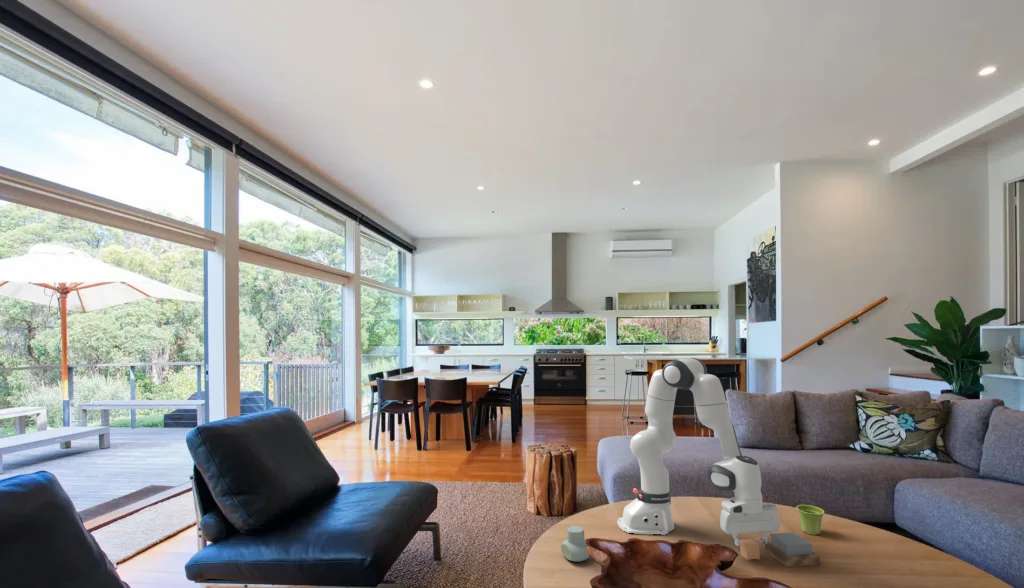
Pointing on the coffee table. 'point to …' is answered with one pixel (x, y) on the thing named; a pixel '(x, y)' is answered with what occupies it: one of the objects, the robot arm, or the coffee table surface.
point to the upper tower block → (791, 543)
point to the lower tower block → (792, 557)
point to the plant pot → (810, 518)
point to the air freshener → (575, 545)
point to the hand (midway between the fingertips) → (750, 544)
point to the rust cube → (749, 549)
